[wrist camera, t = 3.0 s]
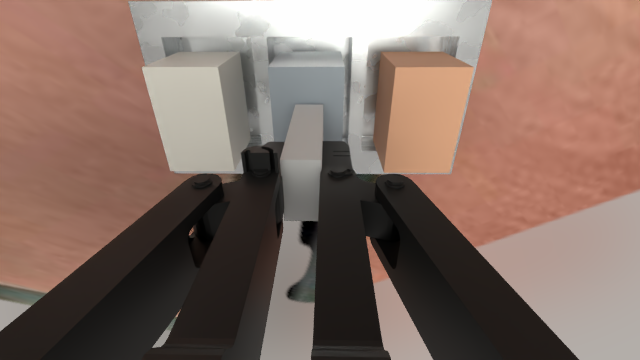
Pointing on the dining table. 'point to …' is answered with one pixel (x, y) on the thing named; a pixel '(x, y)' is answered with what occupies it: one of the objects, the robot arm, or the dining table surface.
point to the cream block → (200, 109)
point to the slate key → (307, 89)
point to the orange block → (419, 110)
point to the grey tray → (314, 48)
